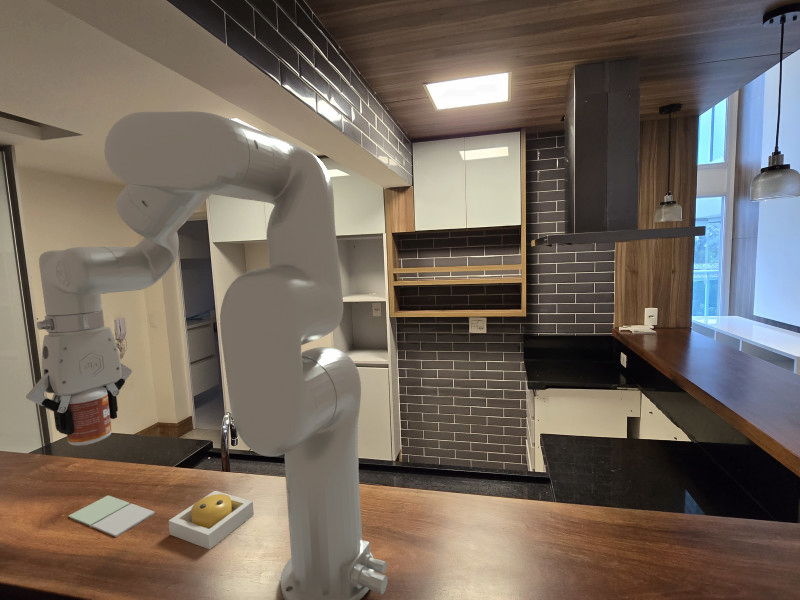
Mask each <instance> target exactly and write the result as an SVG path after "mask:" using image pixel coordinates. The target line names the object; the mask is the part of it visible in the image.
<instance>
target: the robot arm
mask: <svg viewBox="0 0 800 600" xmlns="http://www.w3.org/2000/svg"><path fill="white" fill-rule="evenodd" d="M103 152H104V158H105V162H106V165H107V166H108V169H109V170H110V171H111V173H112V174H113V175H114V176H115V177H116V178H117V179H119V180H120V181H122V182H124V183H126V184H127V185H125V187H124V188H123V190H121V192H120V193H119V194H118V196H117V197H116V203H115V205H116V206H115V208H116V210H117V214H118V216H119V217H120V218H121V220H122V221H123V223H124V224H125V225H127V227H129V228H130V229H131V230H132V231H134V232H135V233H136V234H138V235H140V236H141V237H143V239H141V241H140V242H139V243H137V244H136V245H135V246H77V247H76V246H75V247H70V248H67V249H59V250H58V249H57V250H55V249H54V250H48V251H44V252H42V253H41V254H40V255H39V258H38V264H39V265H38V266H39V267H38V268H39V272H40V281H41V287H42V295H43V304H44V311H45V315H44V319H43V320H41V321H40V320H39V321H37V322H36V327H37V329H38V330H39V331H40V330H41V331H42V330H45V331H46V332H47V333H48V334H45V335H44V336H43V341H42V347H41V348H42V349H41V378H40V379H39V380H38V381H37V383H36V384H35V385H34V386H33V387H32V388H31V390H30V391H28V393H27V394H26V396H25V398H26V400H28V401H30V402H33V403H35V404H37V405H39V406H41V407H43V408H45V409H47V410H50V411H51V412H53V416H54V417H53V418H54V424H55V429H56V431H58V432H59V433H60V434H62V435H66V436H67V435H71V434H73V433H74V428H73V420H72V413H71V411H68V410H67V407H68V404H69V401H70V398H71V395H73V394H77V393H81V392H84V391H88V390H91V389H95V388H98V387H102V386H103V387H105V388H106V390H107V394H108V402H109V411H110V420H115V419H117V418H118V414H117V412H118V411H119V406H118V399H117V397H118V396H119V394H120V391H121V389H122V388H123V386H124V385H125V383H126V381H127V380H128V378H129V377H130V375H131V374H132V372H133V370H132V369H131V368H129V367H128V366H127V365H124V364H123V363H121V359H120V354H119V350H118V345H117V342H116V339H115V337H114V334H113V332H112V329H111V327H110V326H105V319H104V312H103V302H102V295H105V294H113V293H122V292H123V293H124V292H133V291H134V292H135V291H141V290H145V289H147V288H150V287H152V286H153V285H155V284H156V283H157V282H159V280H161V279H162V278H163V277H164V276H165V275H166V274H167V273H168V272H169V271H170V269H171V268H172V267H173V266H174V265H175V263H176V261H177V258H178V253H179V245H180V242H179V240H180V239H179V235H178V232H177V231H179V229H181V228H182V227H183V225H184V224H185V223H186V222H187V221H188V219H189V218H190V217H192V215H193V214H194V213H195V212H196V211H197V210H198V209H199V208H201V207H200V206H202V205H203V204H204V203H205V201H206V200H207V199H208V198H209V197H211V196H212V195H214V196H221V197H228V198H235V199H239V200H247V201H255V202H261V203H268V204H271V205H274V206H273V208H272V210H271V212H270V215H269V218H268V222H267V228H266V243H267V244H266V245H267V250H268V262H269V263H268V267H262V268H261V267H260V268H255V269H251V270H248V271H246V272H244V273H242V274H240V275H239V276H237V278H235V279H234V280H233V281H232V282H231V283H230V285H229V286H228V287H227V290H226V291H225V293H224V297H223V299H222V303H221V307H220V313H219V314H220V315H219V326H220V337H221V339H220V340H221V345H222V354H223V360H224V362H223V363H224V369H225V370H224V371H225V376H226V377H225V378H226V385H227V392H228V400H229V406H230V414H231V416H232V421H233V424H234V427H235V429H236V432H237V434H238V436H239V437H240V439H241V440H242V442H243V443H244V445H245V446H246V447H248V448H249V449H250V450H251V451H252V452H253V453H256V454H257V455H259V456H264V457H278V456H282V455H284V471H285V472H284V474H285V489H286V500H287V501H286V502H287V515H288V527H289V528H288V529H289V530H288V531H289V543H290V559H288V561H287V562H286V564H285V565H284V568H283V569H282V572H281V576H280V588H281V589H280V591H281V595H282V598H283V599H284V600H362V598H364V597H365V595H366V594H367V593H368V592H369V590H370V591H371V592H375V593H378V594H381V595H383V594H384V593H385V592H386V589H387V587H388V586H387V585H388V580H389V579H388V575H385V573H386V571H387V568H388V563H387V561H385V560H381V559H378V558H377V559H376V558H374V556H373V554H372V552H371V550H370V547H371V546H370V542H369V541H368V540H367V541H366V540H363V535H362V534H363V533H362V528H363V527H362V514H361V511H362V510H361V494H360V493H361V492H360V476H359V475H360V473H359V466H360V465H359V462H360V461H359V446H358V444H359V442H358V441H359V436H358V433H359V432H358V431H359V430H358V429H359V417H360V410H361V409H360V408H361V399H362V398H361V397H362V384H361V383H362V381H361V375H360V373H359V370H358V367H357V365H356V363H355V362H354V360H353V359H352V358H351V357H350V356H349V355H348V354H347V353H346V352H344V351H342V350H341V349H339V348H335V347H331V346H330V347H329V346H320V347H319V346H317V347H314V348H311V349H306V350H304V351H302V346H303V345H305V344H308V343H310V342H314V341H315V340H319V339H321V338H323V337H326V336H328V335H329V334H331V333H332V332H334V331H335V330H336V329H337V328H338V326H339V325H340V323H341V322H342V319H343V314H344V299H343V296H344V295H343V287H342V279H341V278H342V277H341V268H340V259H339V257H340V256H339V247H338V240H337V233H336V232H337V231H336V223H335V222H336V220H335V199H334V198H335V197H334V188H333V183H332V179H331V176H330V173H329V171H328V169H327V168H326V166H325V165H324V163H323V162H322V160H321V159H320V158H318V157H317V155H315V154H314V153H312V152H311V151H310V150H307V149H306V148H304V147H302V146H299V145H297V144H295V143H292V142H290V141H287V140H284V139H282V138H279V137H277V136H274V135H272V134H270V133H267V132H265V131H263V130H262V131H261V130H259V129H256V128H253V127H250V126H248V125H245V124H243V123H240V122H237V121H235V120H233V119H231V118H227V117H225V116H222V115H218V114H215V113H211V112H207V111H206V112H205V111H194V110H193V111H191V110H190V111H189V110H187V111H138V112H133V113H129V114H127V115H124V116H123V117H121V118H120V119H118V120H117V121H116V122H115V123H114V124H113V125H112V127H111V128H110V130H109V131H108V133H107V136H106V137H105V141H104V150H103ZM45 392H46V393H48V394H53V395H52V398H48V397H47V396H45V395H44V394H45Z"/></svg>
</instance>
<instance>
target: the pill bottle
mask: <svg viewBox="0 0 800 600" xmlns="http://www.w3.org/2000/svg"><path fill="white" fill-rule="evenodd" d="M67 410H68V411H71V413H72V420H73V428H74V433H73V434H71V435H66V437H67V443H68V444H69V445H72V446H87V445H91V444H95V443H97V442H100V441H103V440H104V439H107V438H108V437H109V436H111V434H112V429H113V428H112V421H111V420H112V419H110V411H109V402H108V394H107V390H106V388H105V387H103V386H102V387H98V388H95V389H91V390H88V391H84V392H81V393H77V394H73V395H71V398H70V401H69V404H68V407H67Z"/></svg>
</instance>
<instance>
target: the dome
mask: <svg viewBox="0 0 800 600" xmlns="http://www.w3.org/2000/svg"><path fill="white" fill-rule="evenodd" d="M204 497H205V498H204ZM204 497H203V498H201V499H199V500H198V501H196V502H195V503H193V504H194V505H193V504H192V505H193V507H192V509H191V514H192V523H193V524H196V525H199V526H202V527H205V528H207V529H210V528H211V527H213V526H214V525H215V524H217V523H218V522H220V521H221V520H222V519H224V518H225V517H226V516H228V515H229V514H230V513H232V506H231V498H230V497H229V496H228V495H224V494H216V495H211V496H208V497H206V496H204Z"/></svg>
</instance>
